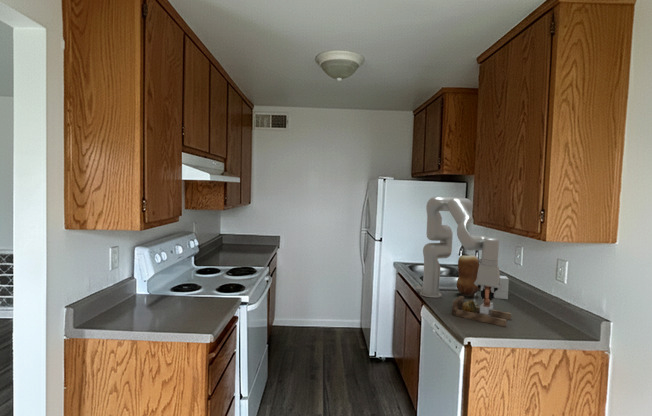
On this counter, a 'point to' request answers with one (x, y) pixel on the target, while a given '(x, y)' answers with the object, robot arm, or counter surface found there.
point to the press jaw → (487, 303)
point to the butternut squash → (467, 275)
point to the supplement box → (504, 291)
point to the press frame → (479, 317)
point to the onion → (469, 306)
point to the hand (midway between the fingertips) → (487, 298)
